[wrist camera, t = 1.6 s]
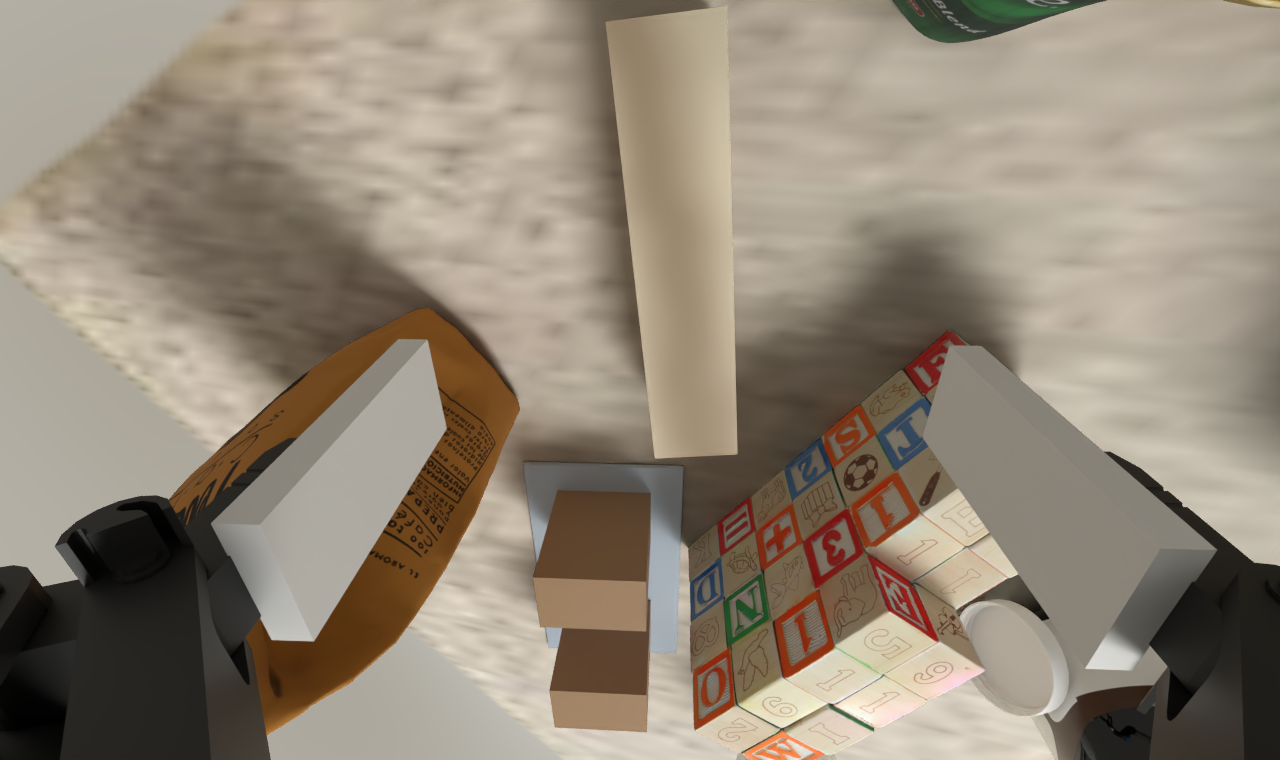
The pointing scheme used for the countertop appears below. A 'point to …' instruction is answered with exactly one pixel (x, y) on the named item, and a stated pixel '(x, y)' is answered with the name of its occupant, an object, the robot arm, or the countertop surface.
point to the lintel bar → (680, 220)
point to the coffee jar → (994, 15)
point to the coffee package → (412, 535)
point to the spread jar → (1060, 685)
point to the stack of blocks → (840, 585)
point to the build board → (605, 583)
